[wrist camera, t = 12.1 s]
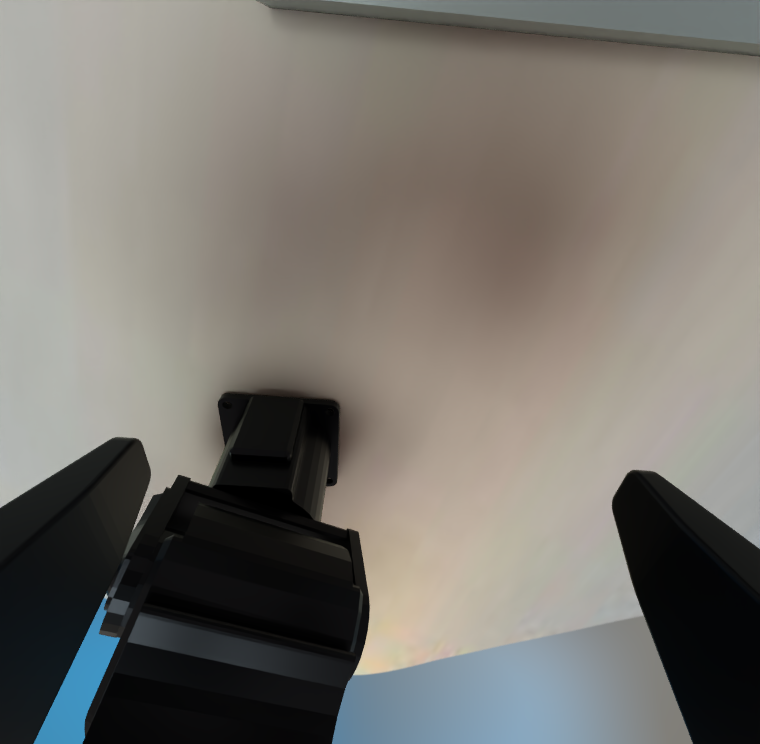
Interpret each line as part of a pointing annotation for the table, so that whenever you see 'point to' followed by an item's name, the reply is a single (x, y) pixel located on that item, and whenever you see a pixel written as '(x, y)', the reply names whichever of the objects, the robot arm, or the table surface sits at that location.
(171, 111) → the table surface
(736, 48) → the caddy
